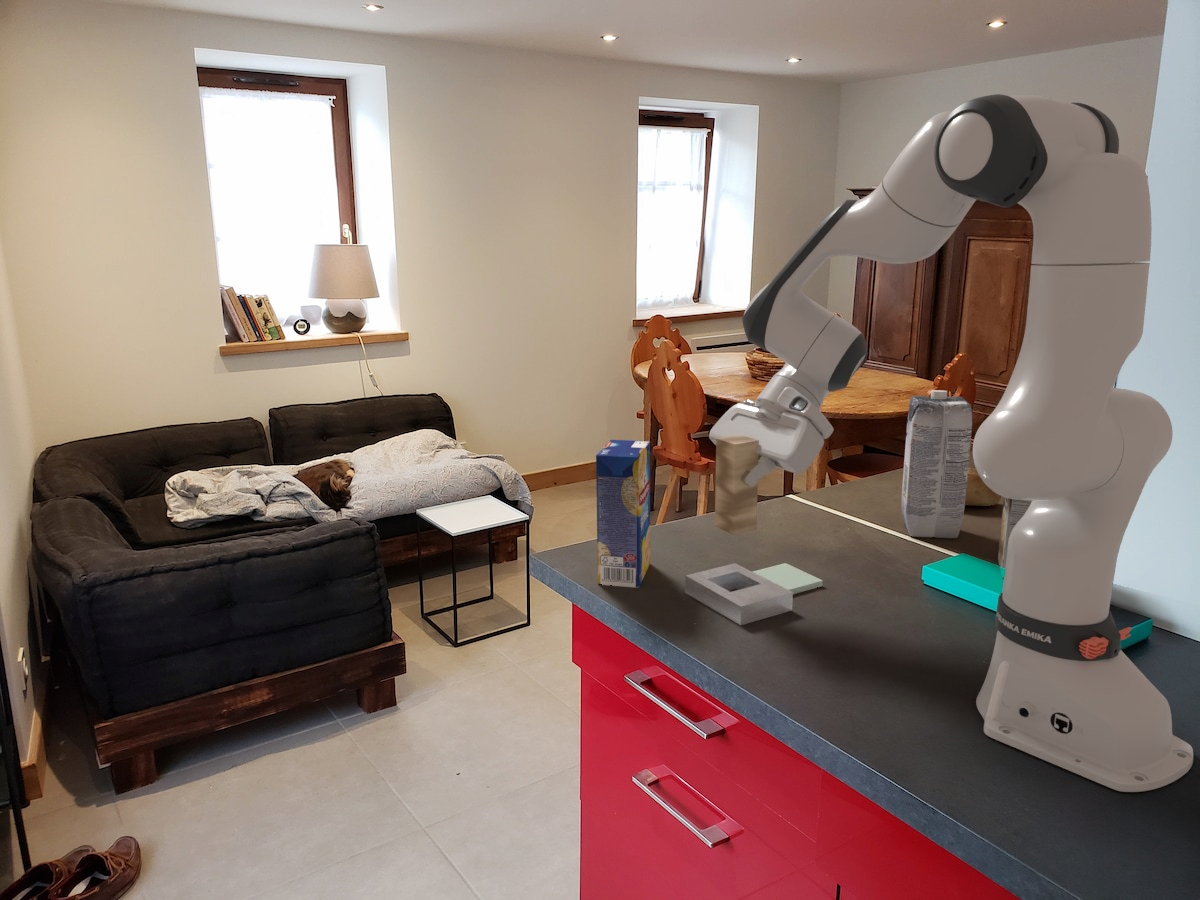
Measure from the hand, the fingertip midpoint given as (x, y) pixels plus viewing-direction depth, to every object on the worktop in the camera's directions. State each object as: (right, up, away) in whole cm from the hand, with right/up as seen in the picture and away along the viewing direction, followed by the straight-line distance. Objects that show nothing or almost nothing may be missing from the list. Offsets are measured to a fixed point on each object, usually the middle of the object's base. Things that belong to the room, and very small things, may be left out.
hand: (733, 479), depth 135 cm
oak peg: (+1, -8, +2) cm, 8 cm away
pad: (+10, -17, +11) cm, 23 cm away
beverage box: (-16, -17, +16) cm, 28 cm away
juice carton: (+42, -11, +34) cm, 56 cm away
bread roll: (+55, -7, +50) cm, 75 cm away
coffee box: (+50, -16, +15) cm, 55 cm away
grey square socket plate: (+1, -19, +4) cm, 20 cm away
